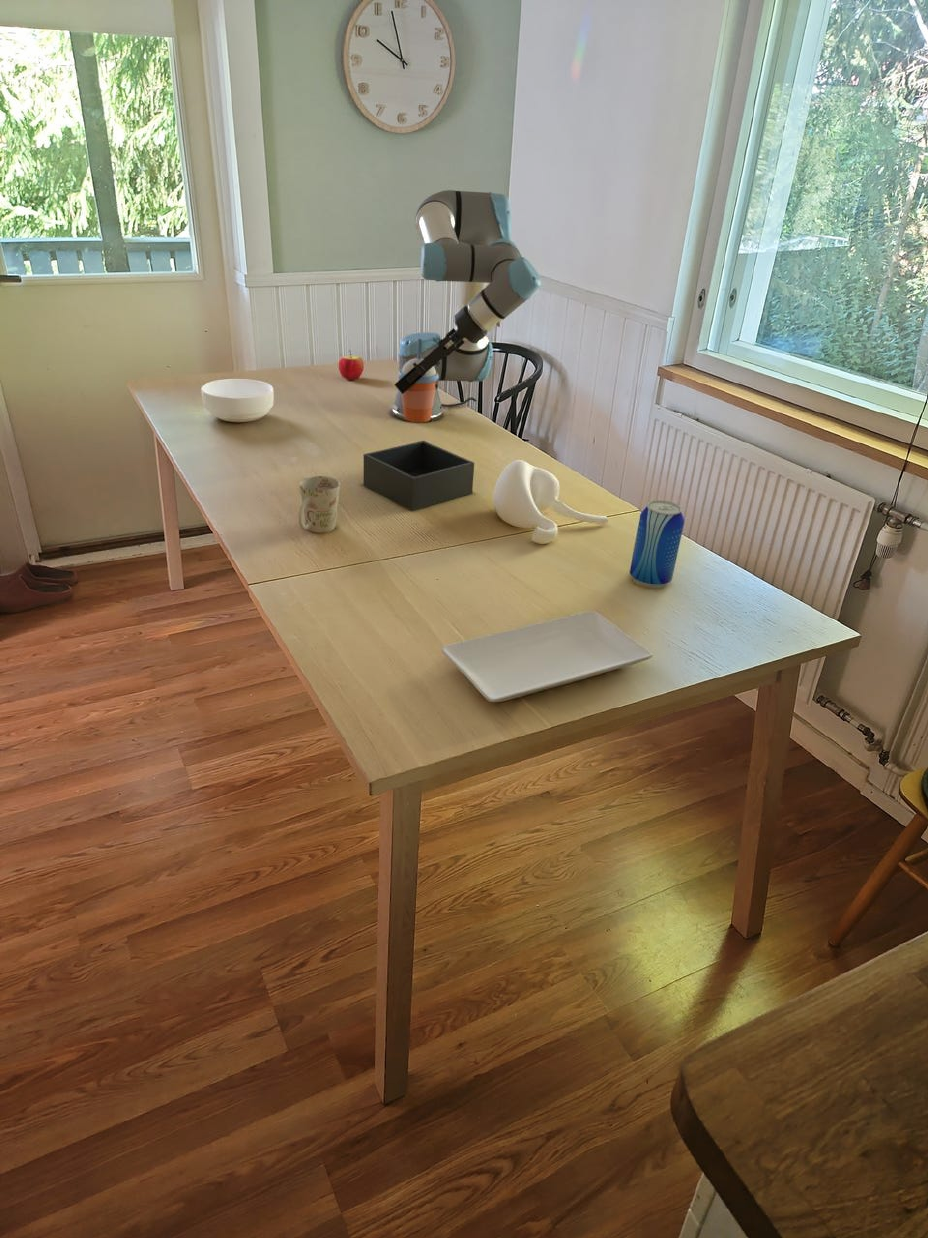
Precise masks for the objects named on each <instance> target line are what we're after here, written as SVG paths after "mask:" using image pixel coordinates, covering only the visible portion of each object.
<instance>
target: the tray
mask: <svg viewBox="0 0 928 1238" xmlns="http://www.w3.org/2000/svg"><path fill="white" fill-rule="evenodd" d="M441 653H442V654H443V655H444V656H445V657H446V658H447V659H448V660H449V661H450V662H451V663H452V664H453V665H454V666H455V667H456V668H457V669H458V670H459V671H460V673H462V675H463V676H465V677H466V678H467V680H468V681H469V682H470V683H471V685H473V687H474V688H475V689H476V690H477V691H478V692H479V693H480V694H481V695H482V697H484V699H486V701H488V702H489V703H502V702H503V703H504V702H508V701H511V700H514V699H518V698H520V697H525V696H527V695H528V696H529V695H531V694H535V693H539V692H542V691H544V690H549V689H553V688H555V687H560V686H564V685H566V684H570V683H573V682H577V681H580V680H584V679H587V678H590V677H594V676H598V675H601V674H606V673H608V672H613V671H615V670H619V669H622V668H623V669H624V668H626V667H629V666H632V665H636V664H639V663H643V662H645V661H647V660H649V659H651V658H653V653H652V652H651V651H650V650H649V649H647V648H646V647H645V646H643V645H642V644H641V643H639V642H638V641H637V640H635V639H634V638H633V637H631V636H630V635H629V634H628V633H626V632H625V631H624V630H622V629H620V628H619V627H618V626H617V625H616V624H614V623H612V622H611V621H610V620H608V619H607V618H606V617H605V616H603V615H602V614H600V613H599V612H597V611H595V610H586V611H582V612H578V613H575V614H571V615H567V616H562V617H558V618H554V619H551V620H546V621H542V622H538V623H534V624H529V625H526V626H521V627H517V628H513V629H509V630H504V631H500V632H497V633H491V634H488V635H487V634H486V635H483V636H479V637H475V638H471V639H467V640H462V641H458V642H454V643H450V644H447V645H446V644H445V645H444V646H442V647H441Z"/></svg>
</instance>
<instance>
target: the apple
mask: <svg viewBox="0 0 928 1238" xmlns="http://www.w3.org/2000/svg"><path fill="white" fill-rule="evenodd" d="M348 351H349V354H350V355H346V356H345V355H344V356H341V357H340V358H339V359H338V364H337V365H338V370H339V371H338V372H339V373H340V375H341V376H342V378H344V379H345V380H348V381H356V380H358V379H359V378H360V377H361V376H362V375H363V371H364V368H365V367H364V365H365V364H364V360H363V358H362V357H361V356H358V355H352V353H351V350H350V349H349V350H348Z"/></svg>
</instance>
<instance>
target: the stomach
mask: <svg viewBox="0 0 928 1238" xmlns="http://www.w3.org/2000/svg"><path fill="white" fill-rule="evenodd" d="M559 494H560V482H559V480H558V478H557V477H556V476H555V475H554V474H553V473H551V472H550V471H549V470H546V469H543V468H540V467H537V466H534V465H531V464H530V463H528V462H527V461H525V460H522V459H516V460H513V461H511V462H510V463H509V464H507V465H506V466H505V467H504V469H503V470H502V471H501V473H500V474H499V476H498V478H497V480H496V482H495V486H494V490H493V506H494V509H495V512H496V514H497V515H498V517H499V518H500V519H501V520H502V521H503V522H504V523H506V524H508V525H511V526H513V527H515V528H520V529H533V532H532V534H531V542H535V544H541V545H545V544H549V543H551V542H553V541H554V540H555V539H556V537H557V536H558V532H559V531H558V530H559V529H558V525H557V523H556V522H555V521H554V520H552V519H550V518H548V517H546V516H544V515H543V514H544V513H546V512H548V511H549V510H553V511H554V512H555V513H556V514H558V515H559V516H561V517H565V518H569V519H571V520H576V521H579V522H583V523H588V524H597V525H607V524H608V523H609V519H608V517H607V516H605V515H596V514H589V513H585V512H584V513H583V512H580V511H577V510H575V509H574V508H571V507H570V506H568V505H566V504H565V503H564V501H562V500H559Z"/></svg>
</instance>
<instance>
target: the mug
mask: <svg viewBox="0 0 928 1238" xmlns="http://www.w3.org/2000/svg"><path fill="white" fill-rule="evenodd" d="M340 490H341V482H340V481H339V480H338V479H336V478H334V477H330V476H326V475H313V476H309V477H305V478H303V479H302V480H300V482H299V491H300V496H301V505H300V507H299V511H298V524H299V527H300V528H301V529H302V530H308V531H310V532H313V533H318V534H324V533H329V532H332V531H334V530H335V529H336V524H337V517H338V516H337V515H338V507H339V498H340V493H341V492H340ZM304 520H305V521H304Z"/></svg>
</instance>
